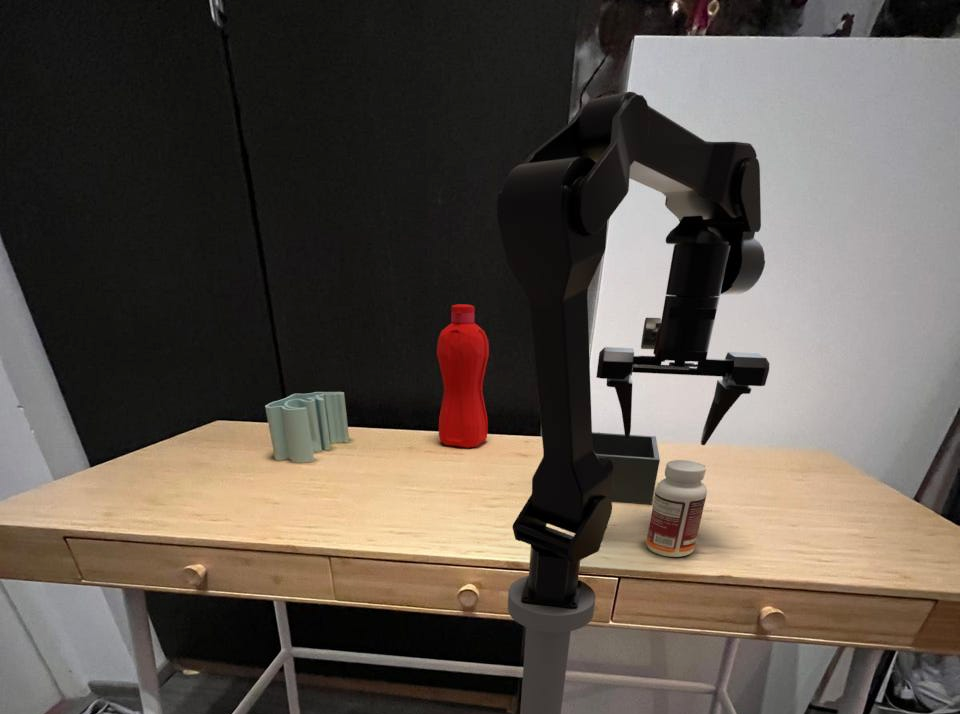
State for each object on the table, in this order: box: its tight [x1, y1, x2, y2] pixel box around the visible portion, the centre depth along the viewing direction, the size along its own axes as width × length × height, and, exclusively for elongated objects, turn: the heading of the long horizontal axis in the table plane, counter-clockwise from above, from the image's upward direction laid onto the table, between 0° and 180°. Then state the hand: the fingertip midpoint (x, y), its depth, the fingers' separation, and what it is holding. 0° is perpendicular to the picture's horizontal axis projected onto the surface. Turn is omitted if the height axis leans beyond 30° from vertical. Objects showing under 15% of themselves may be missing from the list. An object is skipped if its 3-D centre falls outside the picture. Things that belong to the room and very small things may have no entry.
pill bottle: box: [646, 459, 708, 558], centre depth 72 cm, size 6×6×11 cm
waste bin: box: [592, 431, 661, 505], centre depth 94 cm, size 15×15×7 cm
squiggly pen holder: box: [264, 391, 350, 464], centre depth 110 cm, size 18×10×9 cm, turn 171°
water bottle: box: [436, 303, 490, 449], centre depth 112 cm, size 9×11×25 cm
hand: (664, 442), depth 71 cm, fingers open, 9 cm apart
